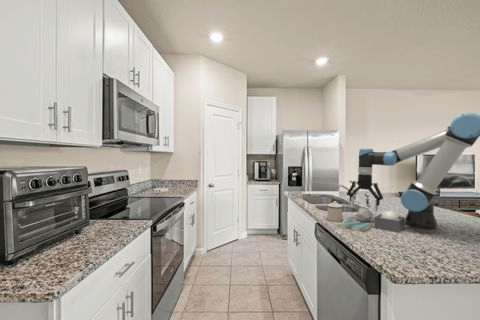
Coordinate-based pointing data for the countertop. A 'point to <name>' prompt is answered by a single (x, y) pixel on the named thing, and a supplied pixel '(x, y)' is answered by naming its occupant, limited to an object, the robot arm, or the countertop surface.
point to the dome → (390, 215)
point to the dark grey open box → (389, 224)
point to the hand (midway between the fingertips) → (363, 208)
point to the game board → (355, 225)
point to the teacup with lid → (334, 212)
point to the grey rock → (364, 214)
